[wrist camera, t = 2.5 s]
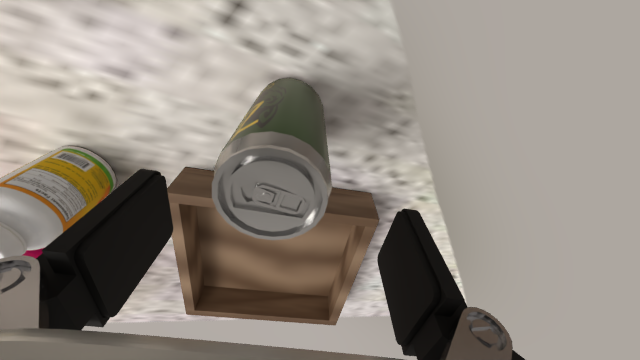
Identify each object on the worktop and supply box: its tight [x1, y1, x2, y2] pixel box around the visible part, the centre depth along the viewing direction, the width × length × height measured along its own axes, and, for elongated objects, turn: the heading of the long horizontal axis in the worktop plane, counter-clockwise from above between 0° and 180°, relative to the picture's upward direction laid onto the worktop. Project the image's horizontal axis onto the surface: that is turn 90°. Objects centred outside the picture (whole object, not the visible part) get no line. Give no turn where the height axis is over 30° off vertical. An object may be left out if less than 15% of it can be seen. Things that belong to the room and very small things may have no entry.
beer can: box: [212, 78, 332, 240], centre depth 16 cm, size 5×5×12 cm
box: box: [167, 167, 379, 325], centre depth 28 cm, size 18×18×4 cm
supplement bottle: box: [0, 146, 116, 259], centre depth 19 cm, size 5×5×10 cm
